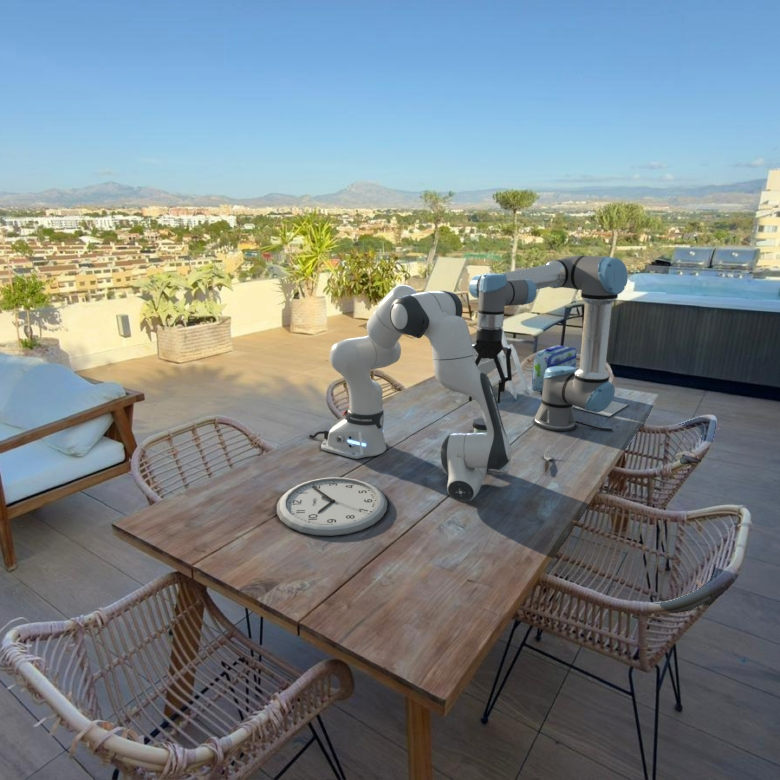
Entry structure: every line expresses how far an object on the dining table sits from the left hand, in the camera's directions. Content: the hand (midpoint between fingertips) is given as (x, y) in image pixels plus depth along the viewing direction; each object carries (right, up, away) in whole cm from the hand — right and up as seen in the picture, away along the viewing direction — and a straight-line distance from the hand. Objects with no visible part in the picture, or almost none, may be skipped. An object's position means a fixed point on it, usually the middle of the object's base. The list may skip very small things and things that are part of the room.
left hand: (480, 449), depth 166 cm
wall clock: (-44, -13, -23) cm, 51 cm away
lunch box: (+48, +19, +82) cm, 97 cm away
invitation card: (+63, +12, +61) cm, 88 cm away
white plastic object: (+13, +18, +78) cm, 81 cm away
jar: (0, -6, +2) cm, 6 cm away
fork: (+22, -5, +4) cm, 23 cm away
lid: (0, +9, -3) cm, 9 cm away
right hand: (0, +16, -5) cm, 16 cm away
